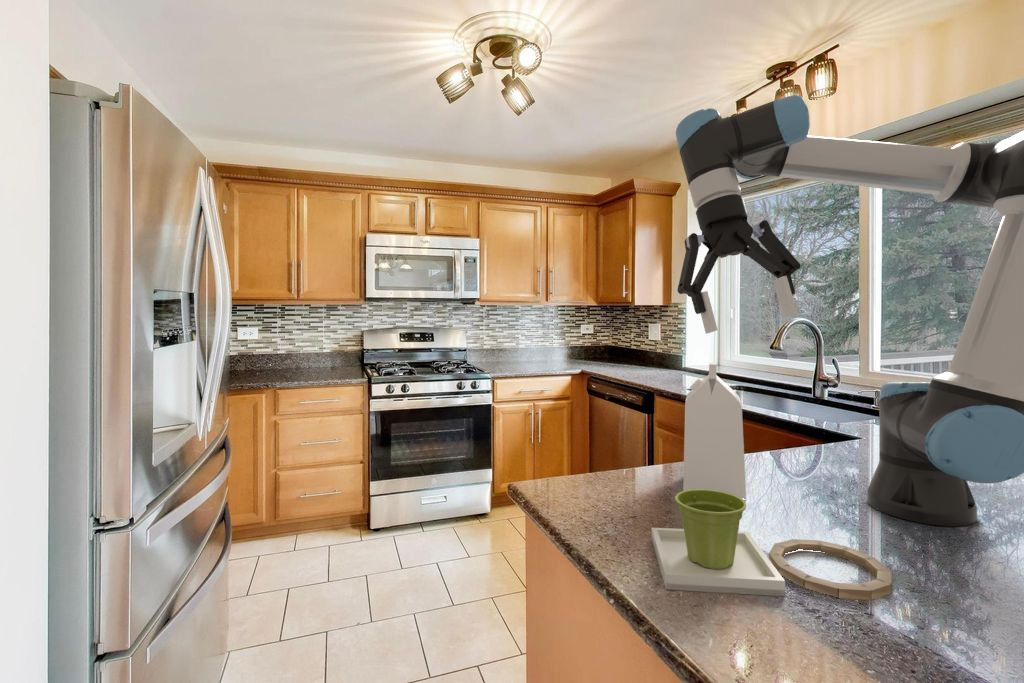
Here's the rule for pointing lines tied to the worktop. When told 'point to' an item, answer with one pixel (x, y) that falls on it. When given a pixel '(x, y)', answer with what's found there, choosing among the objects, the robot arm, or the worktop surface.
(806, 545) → the oak ring
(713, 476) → the milk
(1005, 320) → the robot arm
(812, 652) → the worktop surface
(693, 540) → the plant pot
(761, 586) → the grey tray
